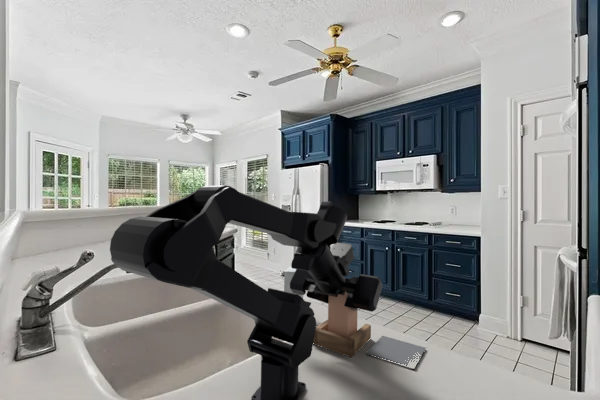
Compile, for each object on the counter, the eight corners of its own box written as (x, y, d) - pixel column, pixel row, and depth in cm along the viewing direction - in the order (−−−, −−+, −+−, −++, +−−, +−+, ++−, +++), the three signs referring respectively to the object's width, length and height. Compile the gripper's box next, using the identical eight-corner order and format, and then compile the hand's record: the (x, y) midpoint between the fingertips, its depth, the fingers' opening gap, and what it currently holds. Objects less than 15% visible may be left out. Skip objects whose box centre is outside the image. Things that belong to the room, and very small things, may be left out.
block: (347, 346, 60) (348, 287, 60) (327, 340, 62) (328, 283, 62) (357, 338, 64) (357, 282, 64) (337, 332, 66) (338, 279, 66)
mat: (414, 370, 52) (414, 367, 52) (366, 354, 57) (366, 352, 57) (425, 349, 60) (425, 347, 60) (382, 337, 65) (382, 335, 65)
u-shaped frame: (351, 357, 56) (352, 341, 56) (312, 343, 62) (312, 329, 62) (370, 338, 64) (370, 324, 64) (334, 328, 69) (334, 315, 69)
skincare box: (299, 320, 73) (300, 272, 74) (283, 319, 74) (283, 271, 74) (303, 311, 79) (304, 267, 80) (287, 310, 80) (288, 266, 80)
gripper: (380, 234, 55) (397, 281, 63) (297, 228, 65) (322, 269, 74) (362, 287, 48) (384, 331, 57) (274, 270, 59) (304, 309, 68)
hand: (345, 306), depth 64 cm, fingers closed on block, 5 cm apart
